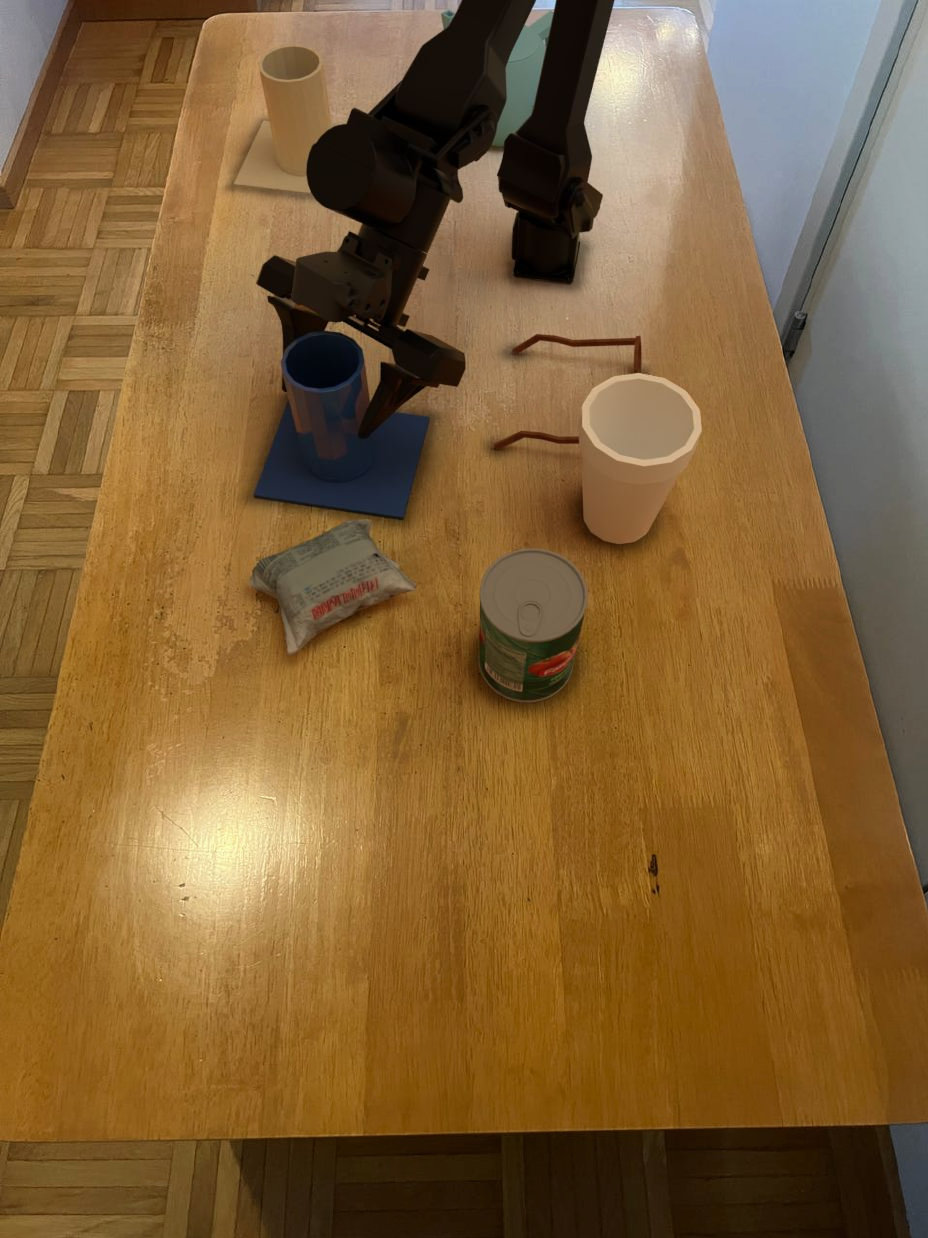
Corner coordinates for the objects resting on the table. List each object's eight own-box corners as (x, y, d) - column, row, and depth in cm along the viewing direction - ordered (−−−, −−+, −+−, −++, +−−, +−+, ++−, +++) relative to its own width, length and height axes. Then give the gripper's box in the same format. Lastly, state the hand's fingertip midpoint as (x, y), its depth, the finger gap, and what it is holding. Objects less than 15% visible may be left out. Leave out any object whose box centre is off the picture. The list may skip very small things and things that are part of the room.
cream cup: (341, 142, 110) (329, 47, 100) (327, 179, 107) (313, 84, 97) (286, 136, 110) (268, 41, 101) (270, 172, 107) (250, 77, 98)
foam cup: (678, 486, 86) (710, 387, 74) (661, 568, 81) (692, 476, 70) (577, 464, 87) (593, 363, 76) (555, 544, 83) (569, 450, 71)
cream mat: (376, 135, 111) (376, 132, 111) (352, 200, 105) (352, 197, 105) (263, 123, 112) (263, 120, 112) (234, 186, 107) (233, 183, 106)
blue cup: (370, 420, 89) (357, 325, 79) (381, 476, 86) (369, 384, 75) (299, 432, 88) (277, 337, 78) (308, 488, 85) (286, 397, 75)
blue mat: (429, 419, 90) (429, 416, 89) (403, 519, 84) (403, 517, 84) (289, 399, 91) (288, 396, 91) (254, 497, 85) (253, 494, 85)
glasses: (631, 467, 87) (640, 432, 82) (493, 450, 88) (494, 414, 83) (641, 364, 93) (650, 326, 89) (512, 349, 94) (514, 311, 90)
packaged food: (417, 603, 80) (414, 572, 75) (292, 666, 77) (281, 637, 73) (371, 531, 83) (365, 498, 79) (249, 589, 81) (237, 557, 76)
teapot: (567, 158, 109) (576, 66, 99) (438, 157, 109) (436, 65, 100) (563, 81, 116) (571, -12, 107) (442, 80, 116) (440, -13, 107)
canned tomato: (485, 612, 79) (488, 540, 70) (578, 625, 79) (593, 554, 69) (471, 696, 75) (471, 632, 66) (567, 710, 75) (582, 648, 65)
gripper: (247, 165, 71) (182, 357, 76) (441, 267, 65) (356, 466, 71) (329, 202, 81) (266, 369, 86) (503, 293, 75) (424, 465, 81)
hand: (323, 414), depth 81 cm, fingers open, 8 cm apart
